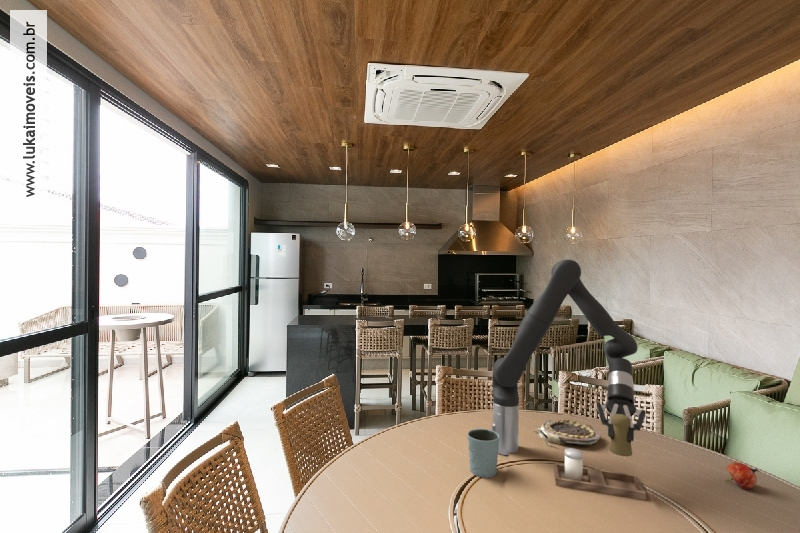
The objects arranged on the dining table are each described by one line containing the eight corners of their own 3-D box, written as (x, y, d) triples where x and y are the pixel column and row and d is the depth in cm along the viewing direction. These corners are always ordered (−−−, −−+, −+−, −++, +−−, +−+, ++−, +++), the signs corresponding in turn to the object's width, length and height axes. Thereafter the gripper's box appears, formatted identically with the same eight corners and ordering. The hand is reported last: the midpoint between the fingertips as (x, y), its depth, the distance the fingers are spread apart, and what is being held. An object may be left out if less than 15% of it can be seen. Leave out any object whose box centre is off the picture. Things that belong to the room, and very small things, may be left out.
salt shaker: (565, 482, 124) (565, 454, 124) (563, 474, 129) (564, 447, 129) (583, 485, 123) (583, 456, 123) (581, 477, 128) (581, 449, 128)
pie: (563, 422, 180) (563, 410, 180) (624, 445, 157) (625, 432, 157) (519, 434, 165) (520, 422, 165) (580, 462, 142) (581, 448, 142)
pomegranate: (729, 495, 125) (763, 485, 119) (712, 469, 129) (744, 459, 123) (737, 490, 129) (770, 481, 123) (720, 466, 133) (752, 456, 127)
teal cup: (501, 468, 135) (502, 431, 135) (495, 482, 126) (495, 443, 126) (471, 461, 139) (472, 426, 139) (463, 474, 130) (464, 437, 130)
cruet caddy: (555, 488, 122) (555, 478, 122) (553, 472, 133) (553, 462, 133) (646, 503, 115) (646, 493, 115) (636, 484, 125) (636, 475, 125)
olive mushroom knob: (635, 457, 119) (635, 419, 119) (613, 455, 120) (613, 417, 120) (628, 448, 125) (628, 412, 125) (606, 446, 126) (606, 411, 126)
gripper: (595, 379, 132) (593, 429, 122) (646, 385, 126) (649, 439, 115) (596, 391, 137) (594, 440, 126) (645, 398, 130) (648, 450, 119)
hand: (620, 439), depth 121 cm, fingers closed on olive mushroom knob, 4 cm apart
